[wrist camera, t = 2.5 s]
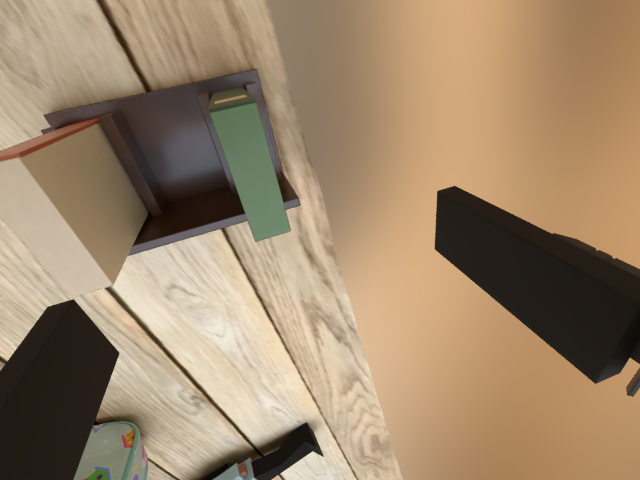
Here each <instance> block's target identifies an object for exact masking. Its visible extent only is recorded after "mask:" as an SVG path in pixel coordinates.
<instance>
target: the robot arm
mask: <svg viewBox="0 0 640 480" xmlns="http://www.w3.org/2000/svg"><path fill="white" fill-rule="evenodd" d="M435 250H436V251H438V252H439V253H440V254H441V255H442V256H444V257H445V258H446V259H447V260H448V261H450V262H451V263H452V264H453V265H454V266H455V267H457V268H458V269H459V270H460V271H461V272H463V273H464V274H465V275H466V276H467V277H469V278H470V279H471V280H472V281H473V282H475V283H476V284H477V285H478V286H479V287H481V288H482V289H483V290H484V291H485V292H487V293H488V294H489V295H490V296H491V297H492V298H494V299H495V300H496V301H497V302H498V303H500V304H501V305H502V306H503V307H504V308H506V309H507V310H508V311H509V312H510V313H512V314H513V315H514V316H515V317H516V318H518V319H519V320H520V321H521V322H522V323H523V324H525V325H526V326H527V327H528V328H529V329H531V330H532V331H533V332H534V333H535V334H537V335H538V336H539V337H540V338H541V339H543V340H544V341H545V342H546V343H547V344H549V345H550V346H551V347H552V348H553V349H555V350H556V351H557V352H558V353H559V354H561V355H562V356H563V357H564V358H565V359H566V360H568V361H569V362H570V363H571V364H573V365H574V366H575V367H576V368H577V369H578V370H580V371H581V372H582V373H583V374H584V375H586V376H587V377H588V378H589V379H590V380H592V381H593V382H594V383H595V384H596V383H599V382H601V381H603V380H605V379H607V378H610V377H612V376H614V375H616V374H619V373H620V372H621V370H622V369H623V367H624V366H625V364H626V363H627V361H628V359H629V358H632V359H633V360H635V361H636V362H637V363H639V364H640V269H638V268H636V267H634V266H632V265H630V264H627V263H625V262H623V261H621V260H619V259H617V258H615V259H613V258H612V256H611V255H609V254H607V253H604V252H602V251H600V250H599V251H597V250H596V248H594V247H592V246H590V245H587V244H585V243H583V242H581V241H579V240H577V239H574V238H570V237H567V236H563V235H559V234H555V233H554V234H551V233H549V232H547V231H545V230H543V229H541V228H539V227H537V226H535V225H533V224H531V223H529V222H527V221H525V220H523V219H521V218H519V217H517V216H515V215H513V214H511V213H509V212H507V211H505V210H503V209H500V208H499V207H497V206H495V205H492V204H490V203H488V202H486V201H484V200H482V199H480V198H478V197H476V196H474V195H472V194H470V193H468V192H466V191H464V190H462V189H460V188H458V187H456V186H453V187H450V188H447V189H443V190H440V191H438V192H437V212H436V233H435ZM118 356H119V352H118V351H117V350H116V349H115V347H114V346H113V345H112V344H111V343H110V341H109V340H108V339H107V338H106V337H105V336H104V334H103V333H102V332H101V331H100V330H99V328H98V327H97V326H96V325H95V324H94V323H93V321H92V320H91V319H90V318H89V317H88V316H87V314H86V313H85V312H84V311H83V310H82V308H81V307H80V306H79V305H78V304H77V303H76V301H75V300H74V299H73V300H70V301H66V302H63V303H59V304H56V305H53V306H49V307H47V309H46V310H45V311H44V313H43V314H42V315H41V317H40V318H39V320H38V321H37V322H36V324H35V325H34V326H33V328H32V329H31V330H30V332H29V333H28V334H27V336H26V337H25V338H24V340H23V341H22V343H21V344H20V345H19V347H18V348H17V349H16V351H15V352H14V353H13V355H12V356H11V357H10V359H9V360H8V362H7V363H6V364H5V366H4V367H3V368H2V370H1V371H0V480H74V477H75V474H76V471H77V469H78V466H79V463H80V460H81V458H82V455H83V452H84V449H85V447H86V444H87V441H88V438H89V436H90V433H91V430H92V427H93V425H94V422H95V419H96V416H97V414H98V411H99V408H100V405H101V403H102V400H103V397H104V394H105V392H106V389H107V386H108V383H109V381H110V378H111V375H112V372H113V370H114V367H115V364H116V361H117V359H118ZM639 388H640V368H639V370H638V371H637V373H636V374H635V375H634V377H633V378H632V380H631V381H630V383H629V384H628V386H627V388H626V389H627V395H629V396H632V397H633V396H634V395H635V393H636V392H637V391H638V389H639Z"/></svg>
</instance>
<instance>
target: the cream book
mask: <svg viewBox="0 0 640 480" xmlns="http://www.w3.org/2000/svg"><path fill="white" fill-rule="evenodd" d="M148 213H149V210H148V208H147V206H146V204H145V202H144V201H143V199H142V197H141V195H140V193H139V192H138V190H137V188H136V186H135V184H134V183H133V181H132V179H131V177H130V175H129V173H128V172H127V170H126V168H125V166H124V164H123V163H122V161H121V159H120V157H119V155H118V154H117V152H116V150H115V148H114V146H113V145H112V143H111V141H110V139H109V137H108V135H107V134H106V132H105V130H104V128H103V126H102V125H101V123H100V121H99V119H98V118H96V119H91V120H87V121H82V122H78V123H74V124H71V125H68V126H66V127H63V128H60V129H58V130H55V131H52V132H50V133H47V134H44V135H42V136H39V137H36V138H34V139H31V140H28V141H26V142H23V143H20V144H18V145H15V146H12V147H10V148H7V149H4V150H2V151H0V218H1V219H2V220H3V222H4V223H5V224H6V225H7V226H8V227H9V228H10V230H11V231H12V232H13V233H14V234H15V235H16V236H17V238H18V239H19V240H20V241H21V242H22V243H23V244H24V246H25V247H26V248H27V249H28V250H29V251H30V252H31V254H32V255H33V256H34V257H35V258H36V259H37V260H38V262H39V263H40V264H41V265H42V266H43V267H44V268H45V270H46V271H47V272H48V273H49V274H50V275H51V276H52V278H53V279H54V280H55V281H56V282H57V283H58V284H59V286H60V287H61V288H62V289H63V290H64V291H65V292H66V294H67V295H68V296H69V297H70V298H73V297H76V296H80V295H83V294H86V293H90V292H93V291H96V290H99V289H103V288H106V287H109V286H113V285H114V282H115V280H116V278H117V276H118V274H119V272H120V270H121V268H122V266H123V264H124V262H125V260H126V258H127V256H128V254H129V252H130V250H131V248H132V246H133V244H134V242H135V240H136V238H137V236H138V234H139V232H140V230H141V227H142V225H143V223H144V221H145V219H146V217H147V215H148Z"/></svg>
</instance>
